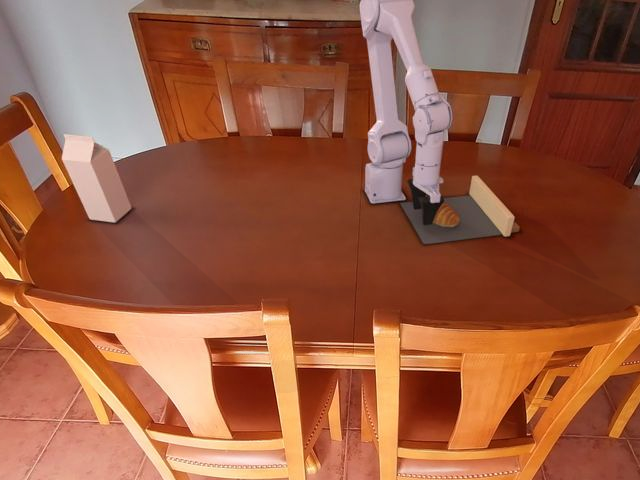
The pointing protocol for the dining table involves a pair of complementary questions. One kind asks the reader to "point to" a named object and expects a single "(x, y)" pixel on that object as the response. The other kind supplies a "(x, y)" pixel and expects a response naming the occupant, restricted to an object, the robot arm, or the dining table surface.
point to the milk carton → (95, 178)
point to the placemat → (467, 228)
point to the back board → (493, 207)
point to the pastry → (446, 216)
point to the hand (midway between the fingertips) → (422, 216)
